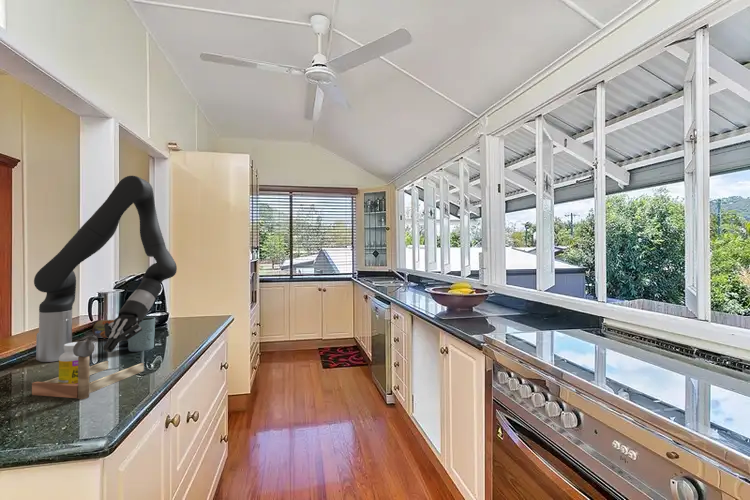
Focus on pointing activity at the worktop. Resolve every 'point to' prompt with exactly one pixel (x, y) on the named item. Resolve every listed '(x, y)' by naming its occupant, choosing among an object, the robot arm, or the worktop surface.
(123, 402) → the worktop surface
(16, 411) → the worktop surface
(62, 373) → the supplement bottle
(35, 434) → the worktop surface
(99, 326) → the tin
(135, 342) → the grey green cup
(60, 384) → the wooden frame stand
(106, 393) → the worktop surface
